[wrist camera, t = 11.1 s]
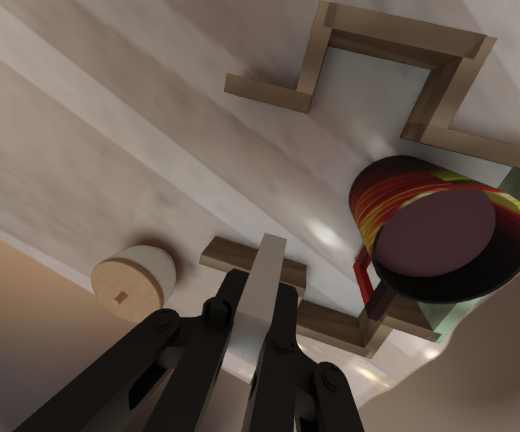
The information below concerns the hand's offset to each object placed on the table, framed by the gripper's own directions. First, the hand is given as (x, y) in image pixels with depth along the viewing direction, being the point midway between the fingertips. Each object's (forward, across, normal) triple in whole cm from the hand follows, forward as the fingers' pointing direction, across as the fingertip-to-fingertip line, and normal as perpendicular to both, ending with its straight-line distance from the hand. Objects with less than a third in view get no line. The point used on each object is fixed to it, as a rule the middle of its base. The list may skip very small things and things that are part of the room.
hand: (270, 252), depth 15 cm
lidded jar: (+15, -17, -19) cm, 30 cm away
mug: (+15, +13, 0) cm, 20 cm away
